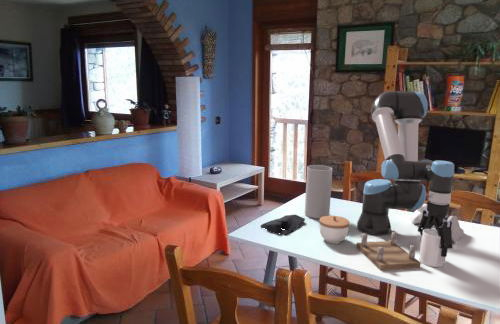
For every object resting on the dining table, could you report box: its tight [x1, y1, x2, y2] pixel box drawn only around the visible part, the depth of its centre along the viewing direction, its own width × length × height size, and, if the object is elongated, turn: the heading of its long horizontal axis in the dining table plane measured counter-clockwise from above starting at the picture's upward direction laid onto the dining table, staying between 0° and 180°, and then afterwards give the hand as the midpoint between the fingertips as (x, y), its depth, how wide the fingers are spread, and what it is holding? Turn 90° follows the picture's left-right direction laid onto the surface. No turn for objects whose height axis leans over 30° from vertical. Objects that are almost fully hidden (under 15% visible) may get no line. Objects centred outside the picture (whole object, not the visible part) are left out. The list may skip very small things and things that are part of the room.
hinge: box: [441, 215, 465, 245], centre depth 171 cm, size 17×5×10 cm, turn 139°
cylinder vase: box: [304, 164, 333, 220], centre depth 193 cm, size 12×12×25 cm
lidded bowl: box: [318, 215, 350, 245], centre depth 163 cm, size 13×13×11 cm
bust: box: [410, 203, 427, 225], centre depth 187 cm, size 12×8×11 cm
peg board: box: [355, 231, 421, 271], centre depth 149 cm, size 20×16×7 cm
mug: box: [418, 228, 444, 268], centre depth 146 cm, size 12×8×12 cm
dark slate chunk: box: [260, 214, 306, 236], centre depth 180 cm, size 15×22×5 cm
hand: (431, 257), depth 147 cm, fingers closed on mug, 10 cm apart
